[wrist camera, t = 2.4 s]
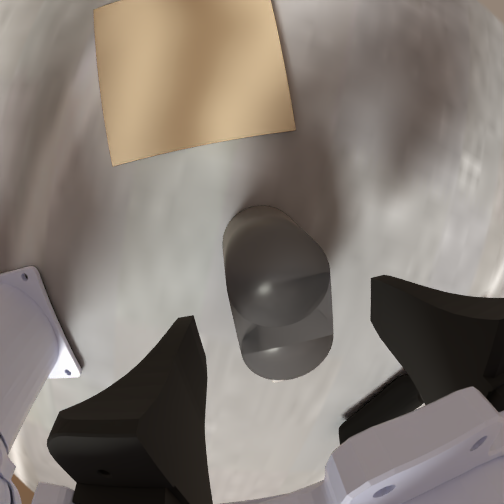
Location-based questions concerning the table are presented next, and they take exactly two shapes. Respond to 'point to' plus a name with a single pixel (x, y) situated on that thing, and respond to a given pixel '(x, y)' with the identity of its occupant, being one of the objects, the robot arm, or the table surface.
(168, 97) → the pad
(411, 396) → the electric trimmer
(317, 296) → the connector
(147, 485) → the robot arm
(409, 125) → the table surface
